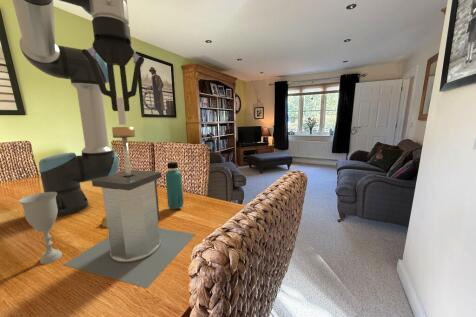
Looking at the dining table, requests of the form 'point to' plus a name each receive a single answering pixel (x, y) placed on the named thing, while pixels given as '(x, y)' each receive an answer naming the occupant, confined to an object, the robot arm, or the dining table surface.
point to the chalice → (42, 219)
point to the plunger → (124, 143)
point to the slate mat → (135, 272)
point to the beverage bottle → (174, 186)
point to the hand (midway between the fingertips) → (122, 124)
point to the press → (131, 214)
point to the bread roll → (104, 222)
